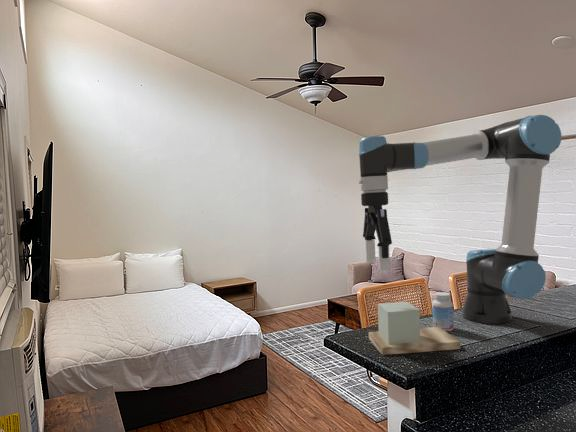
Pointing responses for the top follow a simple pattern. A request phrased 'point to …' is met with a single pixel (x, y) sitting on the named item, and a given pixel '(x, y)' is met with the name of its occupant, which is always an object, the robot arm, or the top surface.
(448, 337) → the board
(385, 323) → the block
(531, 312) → the top surface
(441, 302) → the pill bottle
